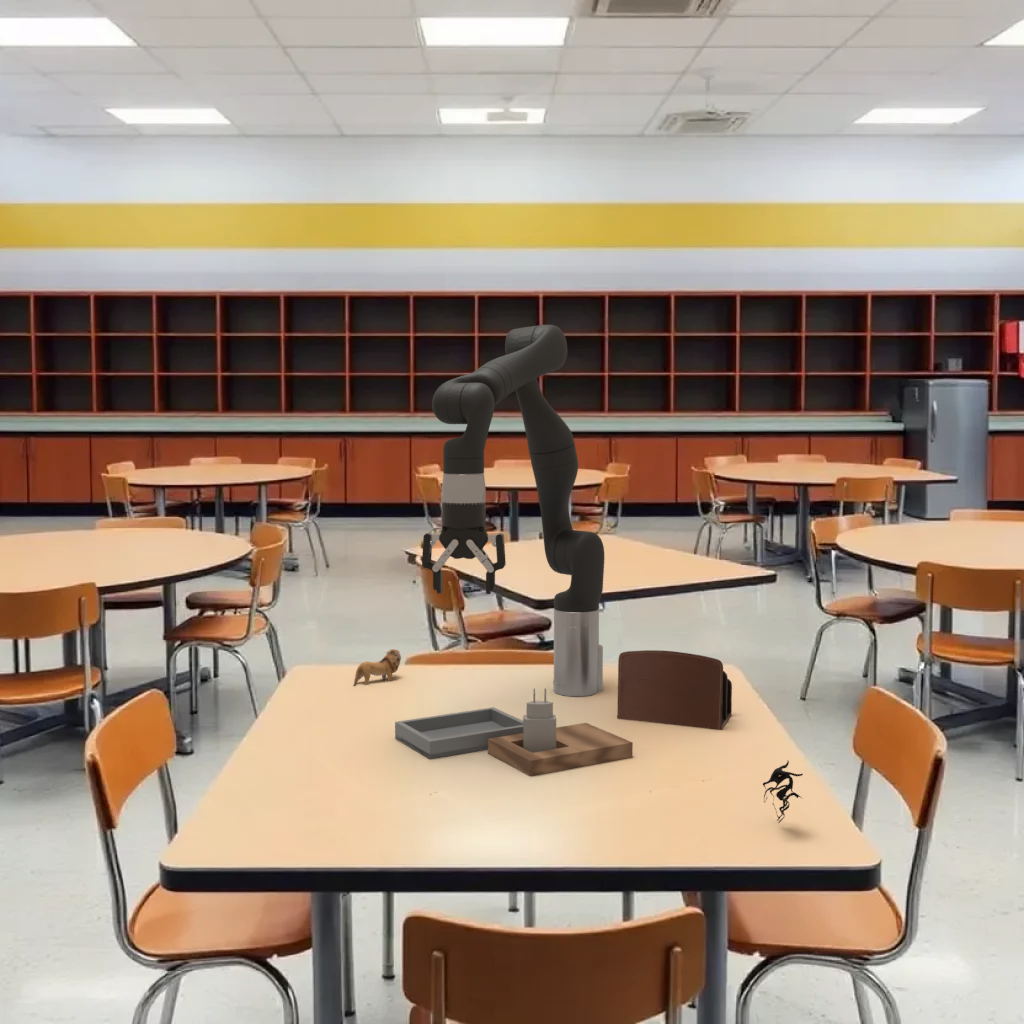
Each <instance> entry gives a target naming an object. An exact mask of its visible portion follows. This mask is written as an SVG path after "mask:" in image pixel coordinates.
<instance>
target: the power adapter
mask: <svg viewBox="0 0 1024 1024" xmlns="http://www.w3.org/2000/svg"><path fill="white" fill-rule="evenodd" d="M532 695H533V698H532V699H533V700H531V701H528V702H527V701H526V714H523V716H522V721H523V749H525V750H527V751H529V752H531V753H535V752H541V751H546V750H552V749H556V728H557V716H556V715H555V714H554V703H553V701H549V700H547V688H544V697H543V698H544V699H543V700H536V688H533V694H532Z"/></svg>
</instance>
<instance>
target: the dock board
mask: <svg viewBox="0 0 1024 1024" xmlns="http://www.w3.org/2000/svg"><path fill="white" fill-rule="evenodd" d="M487 754H488V755H491V756H492V757H494V758H496V759H498V760H500V761H502V762H504V763H505V764H507V765H509V766H511V767H513V768H515V769H517V770H518V771H519V772H522V773H524V774H526V775H528V776H529V777H533V776H538V775H543V774H549V773H555V772H559V771H565V770H570V769H575V768H580V767H581V768H582V767H586V766H593V765H597V764H603V763H607V762H608V763H609V762H613V761H617V760H624V759H628V758H629V759H630V758H633V741H630V740H628V739H626V738H623V737H621V736H618V735H616V734H613V733H611V732H609V731H607V730H605V729H602V728H599V727H597V726H594V725H592V724H590V723H587V722H582V723H576V724H571V725H565V726H558V727H557V726H556V749H552V750H546V751H541V752H535V753H531V752H529V751H527V750H525V749H523V733H521V734H515V735H509V736H503V737H496V738H490V739H488V749H487Z"/></svg>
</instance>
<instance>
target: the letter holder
mask: <svg viewBox="0 0 1024 1024" xmlns="http://www.w3.org/2000/svg"><path fill="white" fill-rule="evenodd" d="M617 662H618V664H617V666H618V667H617V668H618V670H617V672H618V674H617V675H618V676H617V711H616V712H617V715H616V717H617V718H616V719H617V720H625V721H634V722H643V723H653V724H662V725H670V726H680V727H688V728H697V729H706V730H712V731H713V730H715V731H722V730H723V729H724V727H725V726H726V725H727V723H728V722H729V720H730V718H731V717H732V713H733V712H732V710H733V709H732V707H733V706H732V705H733V704H732V699H733V698H732V696H733V695H732V694H733V684H732V683H733V682H732V681H731V680H730V679H729V678H728V674H727V672H726V671H724V664H723V662H722V661H721V660H720V659H719V658H718V659H717V658H715V657H714V658H713V657H711V656H706V655H700V654H695V653H689V652H682V651H681V652H680V651H674V650H658V649H657V650H650V649H649V650H633V651H632V650H629V651H628V650H627V651H623V652H620V653H619V656H618V661H617Z"/></svg>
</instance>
